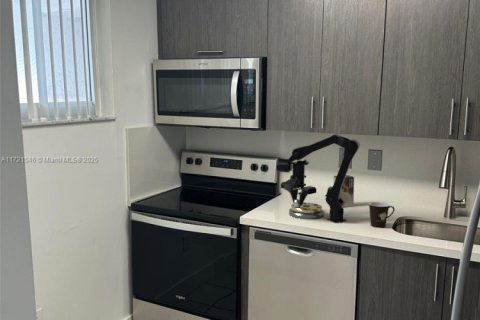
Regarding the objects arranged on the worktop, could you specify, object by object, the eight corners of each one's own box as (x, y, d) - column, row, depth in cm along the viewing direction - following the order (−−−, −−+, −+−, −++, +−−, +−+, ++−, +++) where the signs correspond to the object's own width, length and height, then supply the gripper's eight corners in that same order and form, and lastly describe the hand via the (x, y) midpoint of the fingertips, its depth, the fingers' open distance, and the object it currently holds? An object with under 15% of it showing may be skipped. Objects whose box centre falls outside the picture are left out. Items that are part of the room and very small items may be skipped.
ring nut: (308, 205, 227) (308, 193, 226) (328, 211, 215) (328, 199, 214) (285, 208, 219) (285, 197, 219) (304, 215, 207) (304, 203, 206)
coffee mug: (369, 228, 195) (370, 206, 193) (367, 222, 203) (368, 201, 202) (396, 229, 193) (397, 207, 191) (393, 224, 201) (394, 202, 200)
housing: (330, 216, 213) (330, 212, 213) (301, 220, 206) (301, 216, 206) (311, 208, 229) (311, 204, 228) (282, 212, 222) (282, 208, 221)
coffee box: (348, 203, 239) (349, 174, 237) (353, 206, 233) (354, 176, 231) (332, 204, 237) (333, 175, 235) (337, 207, 231) (338, 177, 229)
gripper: (272, 172, 213) (272, 203, 215) (301, 178, 199) (300, 211, 201) (289, 169, 220) (288, 200, 222) (317, 175, 206) (316, 207, 208)
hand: (297, 204), depth 213 cm, fingers open, 4 cm apart
